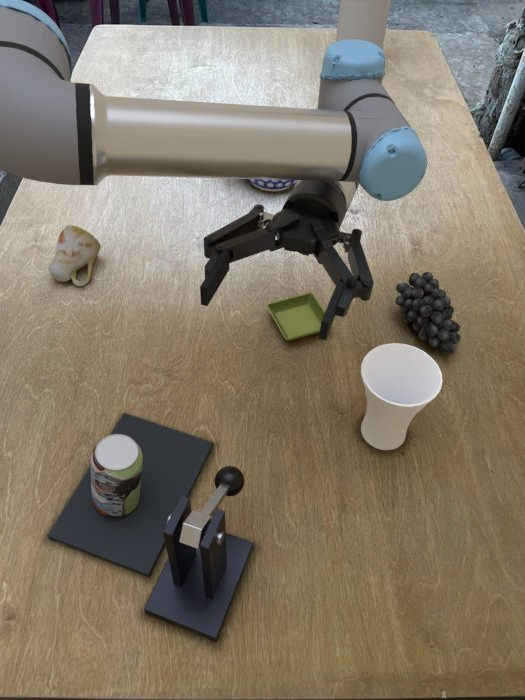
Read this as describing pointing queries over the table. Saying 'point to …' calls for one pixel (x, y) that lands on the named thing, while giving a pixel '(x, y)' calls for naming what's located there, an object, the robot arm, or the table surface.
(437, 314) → the fruit
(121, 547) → the slate mat
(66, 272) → the mug
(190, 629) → the bracket
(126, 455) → the beverage can
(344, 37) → the cylinder vase
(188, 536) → the tap lever
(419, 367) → the cup
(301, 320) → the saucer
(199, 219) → the table surface
